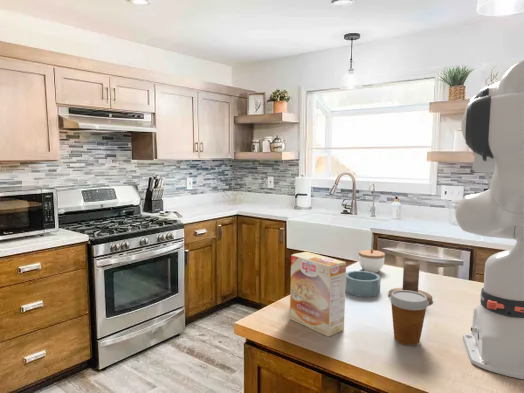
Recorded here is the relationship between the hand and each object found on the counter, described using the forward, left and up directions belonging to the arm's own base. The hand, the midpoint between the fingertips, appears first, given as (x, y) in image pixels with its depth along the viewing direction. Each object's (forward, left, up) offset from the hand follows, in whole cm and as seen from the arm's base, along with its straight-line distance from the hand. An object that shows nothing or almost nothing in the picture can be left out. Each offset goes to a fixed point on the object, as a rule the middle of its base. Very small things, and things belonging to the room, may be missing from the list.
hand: (508, 189), depth 114 cm
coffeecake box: (-36, +45, -39) cm, 70 cm away
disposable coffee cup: (-32, +21, -39) cm, 55 cm away
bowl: (-1, +42, -39) cm, 57 cm away
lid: (+1, +26, -39) cm, 47 cm away
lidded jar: (+26, +46, -39) cm, 66 cm away
